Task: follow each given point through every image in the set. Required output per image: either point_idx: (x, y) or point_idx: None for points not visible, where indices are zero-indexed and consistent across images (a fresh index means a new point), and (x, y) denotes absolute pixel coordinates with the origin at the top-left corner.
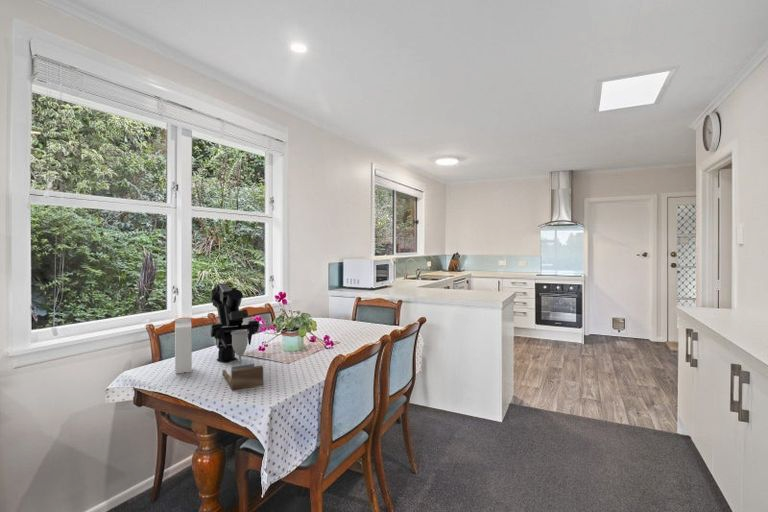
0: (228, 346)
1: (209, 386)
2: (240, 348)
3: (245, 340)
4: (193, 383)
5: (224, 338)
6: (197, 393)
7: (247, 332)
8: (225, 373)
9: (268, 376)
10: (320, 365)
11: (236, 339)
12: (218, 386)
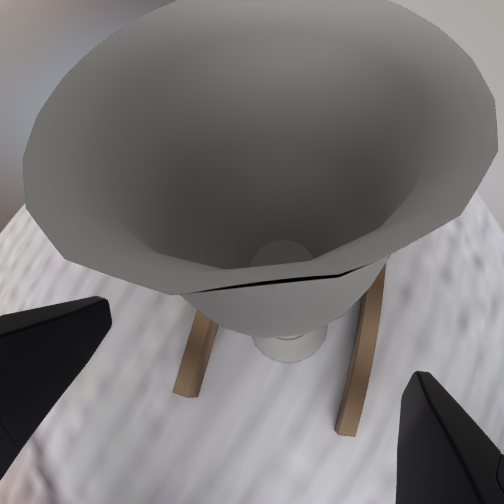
0: None
1: (456, 281)
2: (304, 162)
3: (231, 88)
4: (499, 370)
5: (475, 463)
6: (496, 231)
7: (85, 90)
8: (370, 349)
9: None
10: (6, 233)
11: (361, 80)
12: (424, 255)
